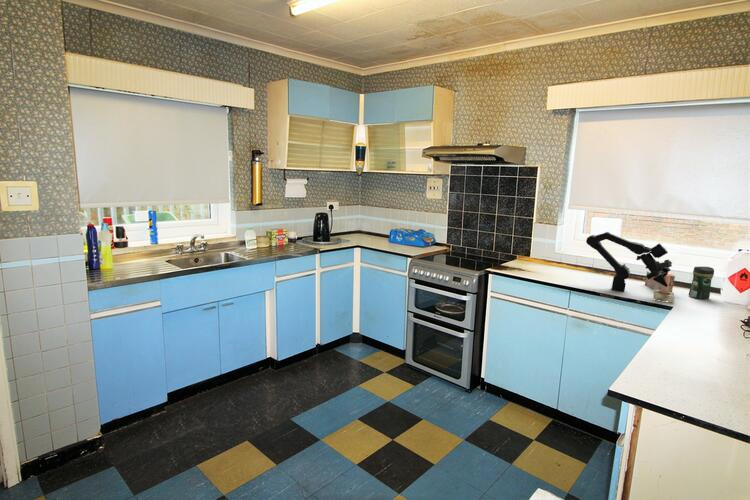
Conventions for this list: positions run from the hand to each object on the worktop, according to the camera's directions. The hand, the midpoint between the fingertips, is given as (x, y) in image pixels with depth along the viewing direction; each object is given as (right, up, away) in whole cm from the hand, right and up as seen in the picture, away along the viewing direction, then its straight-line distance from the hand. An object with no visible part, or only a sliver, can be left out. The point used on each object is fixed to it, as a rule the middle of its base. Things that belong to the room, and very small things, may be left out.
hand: (668, 286), depth 240 cm
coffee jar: (+24, -8, +10) cm, 27 cm away
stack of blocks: (+9, -5, +22) cm, 24 cm away
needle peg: (-1, -6, +2) cm, 7 cm away
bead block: (-1, -8, +3) cm, 9 cm away
